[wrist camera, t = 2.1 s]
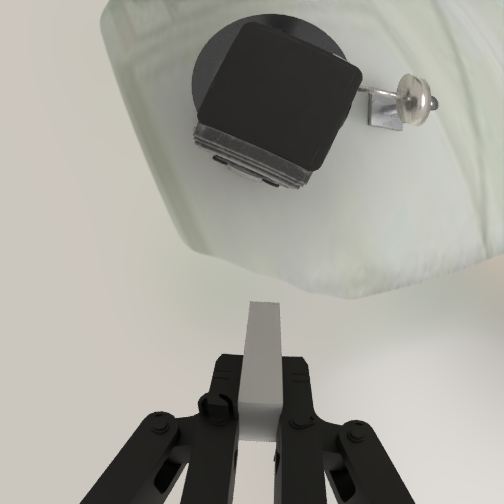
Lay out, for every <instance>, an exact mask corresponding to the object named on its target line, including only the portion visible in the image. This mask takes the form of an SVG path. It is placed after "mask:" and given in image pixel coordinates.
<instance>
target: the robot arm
mask: <svg viewBox="0 0 504 504" xmlns="http://www.w3.org/2000/svg"><path fill="white" fill-rule="evenodd" d="M280 330H281V329H280V306H279V303H271V302H250V307H249V316H248V324H247V333H246V340H245V348H244V355H232V354H222V355H221V356H220V357H219V358H218V359H217V361H216V363H215V368H214V372H213V376H212V381H211V385H210V390H209V392H208V393H205V394H204V395H203V396H202V397H200V399H199V401H198V408H199V413H198V414H196V415H194V416H190V417H183V418H175V417H174V416H173V415H171V414H170V413H167V412H163V411H161V412H154V413H151V414H149V415H148V416H147V417H146V418H145V419H144V420H143V421H142V422H141V424H140V425H139V427H138V428H137V429H136V431H135V432H134V433H133V434H132V436H131V437H130V438H129V440H128V441H127V442H126V444H125V445H124V446H123V448H122V449H121V450H120V452H119V453H118V454H117V456H116V457H115V458H114V460H113V461H112V462H111V464H110V465H109V466H108V467H107V469H106V470H105V471H104V473H103V474H102V475H101V477H100V478H99V479H98V480H97V482H96V483H95V484H94V486H93V487H92V488H91V490H90V491H89V492H88V493H87V495H86V496H85V497H84V499H83V500H82V501H81V502H80V504H163V503H164V502H165V500H166V498H167V497H168V495H169V493H170V492H171V490H172V488H173V487H174V485H175V483H176V481H177V480H178V478H179V476H180V474H181V473H182V471H183V469H184V468H185V466H186V464H187V463H189V466H188V471H187V475H186V480H185V484H184V489H183V494H182V498H181V502H180V504H232V501H233V492H234V484H235V474H236V465H237V456H238V441H239V440H245V441H264V442H265V441H266V442H276V452H275V456H274V461H275V480H274V481H275V482H274V504H327V498H326V487H325V477H324V471H325V473H326V476H327V478H328V481H329V483H330V486H331V488H332V490H333V493H334V495H335V498H336V500H337V502H338V504H415V502H414V500H413V499H412V497H411V495H410V493H409V491H408V490H407V488H406V486H405V484H404V482H403V481H402V479H401V477H400V475H399V474H398V472H397V470H396V468H395V467H394V465H393V463H392V461H391V460H390V458H389V456H388V454H387V453H386V451H385V449H384V447H383V446H382V444H381V442H380V441H379V439H378V437H377V435H376V433H375V432H374V430H373V428H372V427H371V426H370V425H369V424H368V423H366V422H364V421H359V420H351V421H349V422H346V423H344V424H343V425H337V424H333V423H329V422H325V421H324V420H322V419H320V418H319V417H318V416H317V415H316V413H315V411H314V408H313V400H312V392H311V384H310V376H309V369H308V364H307V363H306V361H305V360H304V359H303V357H285V356H284V357H283V356H282V354H281V331H280Z"/></svg>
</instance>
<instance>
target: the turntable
mask: <svg viewBox="0 0 504 504" xmlns="http://www.w3.org/2000/svg"><path fill="white" fill-rule="evenodd" d="M248 22H258V23H260V24H263V25H266V26H269V27H272V28H274V29H277V30H280V31H282V32H285V33H287V34H290V35H292V36H295V37H297V38H299V39H302V40H304V41H306V42H309V43H311V44H313V45H315V46H317V47H319V48H321V49H324V50H326V51H328V52H330V53H332V54H335V55H337V56H339V57H341V58H343V59H345V60H347V59H346V57H345V55H344V54H343V52H342V51H341V49H340V48H339V46H338V45H337V44H336V43H335V42H334V41H333V39H332V38H331V37H330V36H328V35H327V34H326V33H325V32H324V31H322V30H321V29H319V28H318V27H316V26H314V25H313V24H310V23H308V22H306V21H304V20H301V19H298V18H295V17H291V16H287V15H279V14H262V15H255V16H250V17H247V18H243V19H240V20H238V21H235V22H233V23H231V24H230V25H228V26H226V27H224V28H223V29H222V30H220V31H219V32H217V33H216V34H215V35H214V36H213V37H212V38H211V39H210V40H209V41H208V43H207V44H206V45H205V46H204V48H203V49H202V51H201V53H200V54H199V56H198V59H197V61H196V63H195V67H194V71H193V76H192V94H193V100H194V104H195V107H196V110H197V112H198V110H199V108H200V106H201V104H202V102H203V99H204V97H205V95H206V93H207V91H208V89H209V87H210V85H211V83H212V81H213V79H214V77H215V75H216V73H217V71H218V69H219V67H220V65H221V64H222V62H223V60H224V58H225V56H226V54H227V52H228V51H229V49H230V47H231V45H232V43H233V42H234V40H235V38H236V36H237V35H238V33H239V31H240V29H241V28H242V26H243V25H244V24H246V23H248ZM351 104H352V103H351ZM350 108H351V105H350V107H349V109H348V112H347V114H346V116H345V118H344V120H343V122H342V124H341V126H342V125H343V123H344V121H345V120H346V118H347V116H348V113H349V111H350ZM341 126H340V128H341ZM340 128H339V129H340Z"/></svg>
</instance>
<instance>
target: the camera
mask: <svg viewBox="0 0 504 504" xmlns="http://www.w3.org/2000/svg"><path fill="white" fill-rule="evenodd" d="M361 82H362V73H361V71H360V70H359V69H358V67H356V66H354V65H352V64H351V63H349V61H347V60H345V59H343V58H341V57H339V56H337V55H335V54H332V53H330V52H328V51H326V50H324V49H321V48H319V47H317V46H315V45H313V44H311V43H309V42H306V41H304V40H302V39H299V38H297V37H295V36H292V35H290V34H287V33H285V32H282V31H280V30H277V29H274V28H272V27H269V26H266V25H263V24H260V23H258V22H248V23H246V24H244V25H243V26H242V28H241V29H240V31H239V33H238V35H237V36H236V38H235V40H234V42H233V43H232V45H231V47H230V49H229V51H228V52H227V54H226V56H225V58H224V60H223V62H222V64H221V65H220V67H219V69H218V71H217V73H216V75H215V77H214V79H213V81H212V83H211V85H210V87H209V89H208V91H207V93H206V95H205V97H204V99H203V102H202V104H201V106H200V108H199V110H198V113H197V117H198V120H199V122H198V124H197V127H194V129H193V131H194V134H193V136H194V139H195V140H196V141H195V144H196V145H198V147H199V148H201V149H204V150H206V151H208V152H211V153H213V154H215V155H216V156H213V159H214V160H216V161H218V162H220V163H223V164H225V165H227V168H228V169H229V170H231V171H233V172H235V173H237V174H239V175H241V176H243V177H245V178H248V179H251V180H254V181H257V182H261V181H264V182H266V183H268V184H270V185H272V186H275V187H279V185H282V186H284V187H286V188H292V189H294V188H295V189H299V188H300V186H301V187H303V185H304V184H305V185H306V184H307V182H308V180H309V178H310V176H311V174H312V172H313V171H315V170H318V169H319V168H320V167H321V165H322V163H323V161H324V159H325V158H326V156H327V154H328V152H329V150H330V148H331V146H332V143H333V141H334V139H335V137H336V135H337V133H338V130H339V128H340V126H341V124H342V122H343V120H344V118H345V116H346V114H347V112H348V109H349V107H350V105H351V103H352V101H353V99H354V97H355V95H356V92H357V90H358V88H359V86H360V84H361Z"/></svg>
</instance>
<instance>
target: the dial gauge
mask: <svg viewBox="0 0 504 504" xmlns="http://www.w3.org/2000/svg"><path fill="white" fill-rule="evenodd" d="M357 91H361V92H366V93H369V124H368V125H371V126H377V127H382V128H387V129H393V130H398V131H402V130H403V123H406V124H410V125H414V126H420V125H422V124H423V123H424V122H425V121H426V119H427V117H428V115H429V112H430V111H431V110H436V109H437V108H438V101H437V99H436V98H435V97H433V96H431V92H430V88H429V85H428V83H427V82H426V80H425V79H423V78H420V77H417V76H414V75H410V74H406V75H404V76H403V77H402V79H401V80H400V82H399V85H398V88H397V93H394V92H390V91H385V90H381V89H376V88H371V87H366V86H359V88H358V90H357Z"/></svg>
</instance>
